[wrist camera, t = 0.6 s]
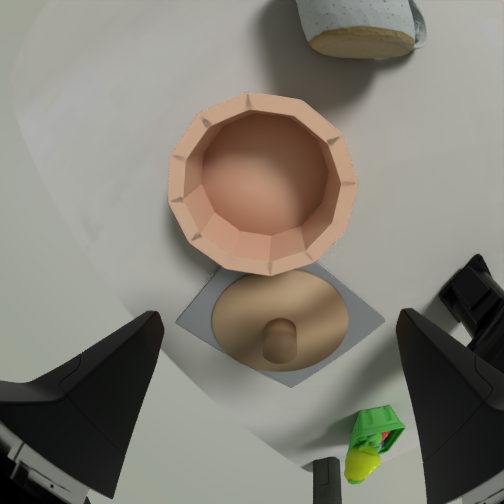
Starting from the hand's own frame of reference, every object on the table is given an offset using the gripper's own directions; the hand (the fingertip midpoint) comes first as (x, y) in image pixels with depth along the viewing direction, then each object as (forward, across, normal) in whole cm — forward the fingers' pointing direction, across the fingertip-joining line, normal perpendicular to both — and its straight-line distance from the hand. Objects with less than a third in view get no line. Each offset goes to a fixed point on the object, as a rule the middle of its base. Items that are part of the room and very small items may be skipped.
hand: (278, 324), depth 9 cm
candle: (+14, -10, +55) cm, 57 cm away
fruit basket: (+14, -13, +35) cm, 40 cm away
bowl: (+13, +1, -3) cm, 13 cm away
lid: (+13, 0, +11) cm, 17 cm away
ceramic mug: (+13, -7, -16) cm, 22 cm away
